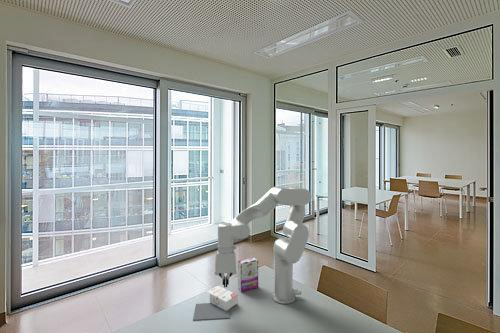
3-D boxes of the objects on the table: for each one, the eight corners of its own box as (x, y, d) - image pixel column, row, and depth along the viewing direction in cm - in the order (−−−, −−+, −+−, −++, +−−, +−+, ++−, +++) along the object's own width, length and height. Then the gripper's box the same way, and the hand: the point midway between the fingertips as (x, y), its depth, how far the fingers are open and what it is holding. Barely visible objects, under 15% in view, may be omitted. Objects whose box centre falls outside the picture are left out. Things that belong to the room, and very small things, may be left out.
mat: (229, 302, 132) (229, 301, 132) (230, 318, 119) (230, 317, 119) (195, 304, 130) (195, 303, 130) (192, 320, 117) (192, 319, 117)
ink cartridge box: (237, 303, 130) (217, 293, 140) (237, 294, 130) (217, 284, 139) (226, 311, 124) (205, 300, 133) (226, 301, 123) (205, 291, 133)
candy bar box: (254, 284, 152) (254, 256, 151) (258, 287, 147) (258, 259, 147) (237, 288, 146) (237, 260, 146) (241, 292, 142) (241, 263, 142)
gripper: (240, 245, 129) (240, 281, 129) (210, 246, 127) (210, 283, 128) (241, 251, 121) (241, 289, 122) (209, 252, 120) (209, 290, 120)
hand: (225, 286), depth 125 cm, fingers closed
